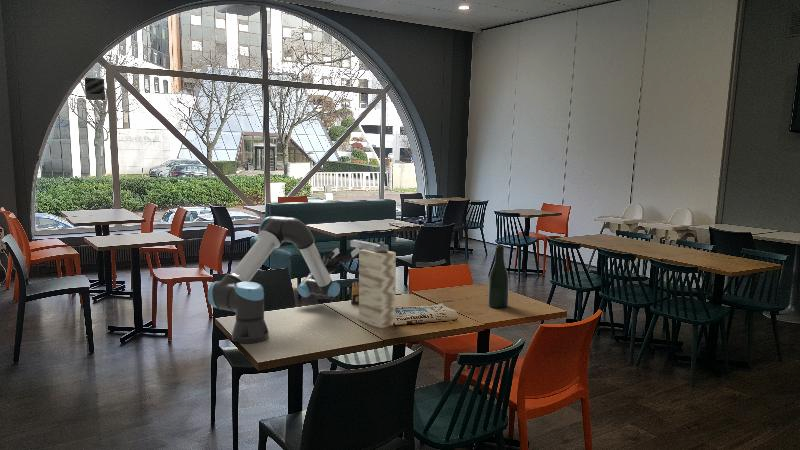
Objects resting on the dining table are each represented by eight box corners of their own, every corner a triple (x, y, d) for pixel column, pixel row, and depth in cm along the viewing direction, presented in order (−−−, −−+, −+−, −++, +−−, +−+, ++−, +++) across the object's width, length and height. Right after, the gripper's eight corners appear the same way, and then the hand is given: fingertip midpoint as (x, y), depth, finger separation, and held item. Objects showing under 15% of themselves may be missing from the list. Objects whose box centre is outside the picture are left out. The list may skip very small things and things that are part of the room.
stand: (380, 328, 252) (380, 254, 248) (358, 320, 264) (359, 249, 260) (395, 324, 258) (395, 252, 254) (373, 317, 270) (374, 248, 266)
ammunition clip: (352, 304, 293) (352, 282, 292) (350, 303, 295) (350, 281, 294) (370, 302, 299) (370, 280, 297) (368, 301, 300) (368, 279, 299)
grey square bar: (380, 253, 250) (380, 243, 250) (347, 246, 269) (347, 237, 269) (391, 252, 254) (391, 242, 254) (358, 245, 273) (358, 236, 273)
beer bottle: (509, 309, 287) (511, 246, 283) (489, 308, 287) (491, 245, 283) (506, 303, 297) (508, 243, 294) (486, 303, 298) (488, 242, 294)
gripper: (305, 261, 284) (326, 243, 269) (344, 259, 300) (366, 242, 285) (309, 275, 282) (330, 257, 267) (348, 272, 297) (369, 255, 282)
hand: (348, 249), depth 276 cm, fingers open, 12 cm apart
